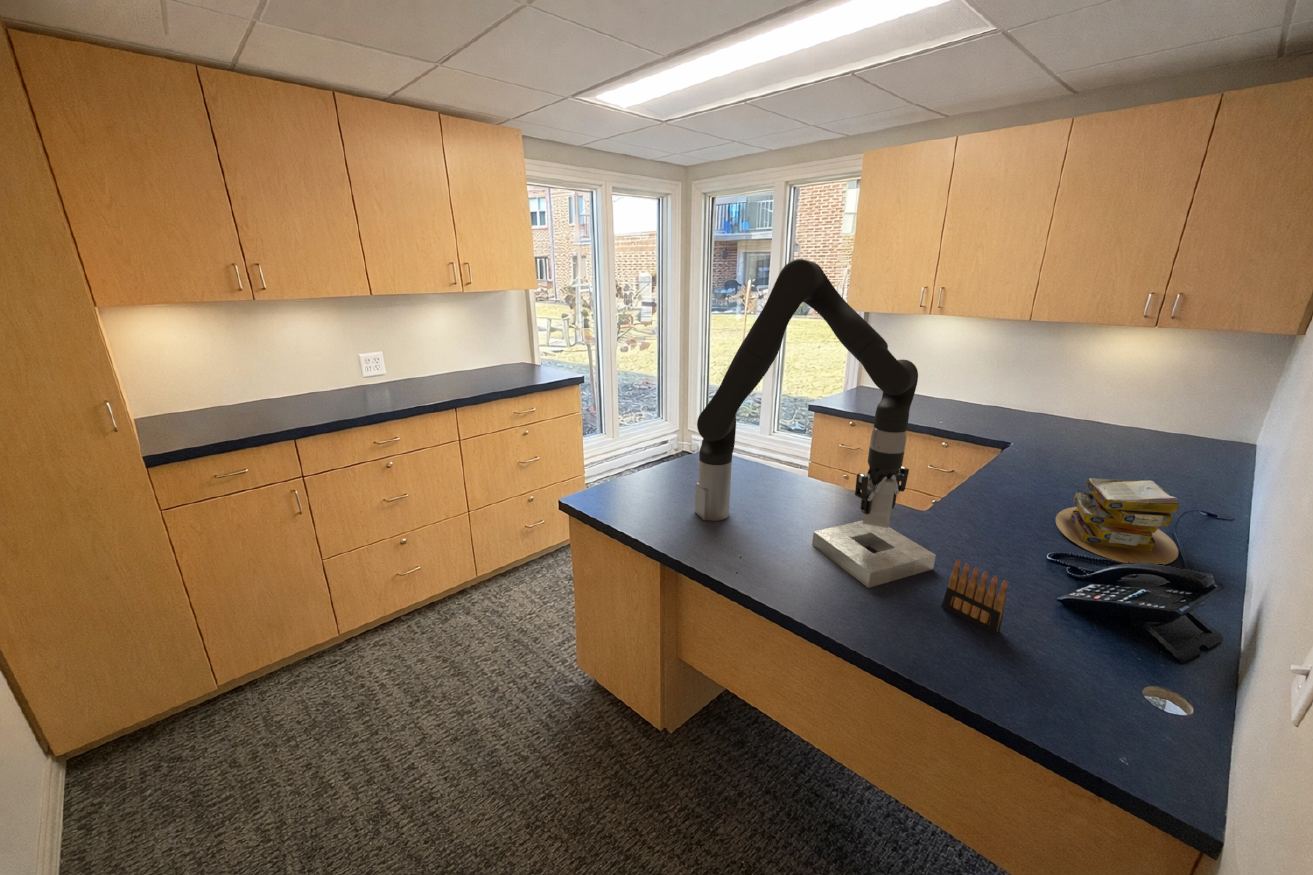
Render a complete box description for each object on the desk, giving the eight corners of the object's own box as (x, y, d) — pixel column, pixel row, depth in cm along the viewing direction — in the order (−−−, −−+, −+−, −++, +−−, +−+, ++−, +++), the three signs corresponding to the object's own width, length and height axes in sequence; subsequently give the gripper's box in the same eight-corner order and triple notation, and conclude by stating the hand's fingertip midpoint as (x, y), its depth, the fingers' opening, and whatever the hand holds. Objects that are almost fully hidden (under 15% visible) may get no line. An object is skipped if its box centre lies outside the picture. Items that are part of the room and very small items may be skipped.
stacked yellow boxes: (1191, 577, 120) (1217, 513, 115) (1060, 548, 132) (1078, 490, 126) (1159, 531, 140) (1179, 475, 135) (1048, 510, 152) (1063, 458, 146)
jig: (868, 587, 116) (870, 572, 115) (812, 544, 134) (813, 531, 132) (932, 569, 123) (935, 554, 122) (871, 530, 141) (873, 517, 139)
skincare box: (889, 521, 126) (896, 476, 122) (888, 528, 122) (896, 483, 118) (862, 516, 128) (869, 472, 124) (861, 523, 125) (868, 478, 121)
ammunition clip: (941, 606, 110) (951, 558, 106) (945, 603, 111) (956, 555, 107) (995, 634, 102) (1009, 583, 98) (999, 630, 103) (1013, 580, 99)
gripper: (875, 456, 113) (865, 522, 118) (923, 447, 118) (912, 511, 123) (851, 445, 119) (843, 508, 125) (897, 437, 124) (888, 499, 130)
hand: (877, 510), depth 124 cm, fingers closed on skincare box, 7 cm apart
